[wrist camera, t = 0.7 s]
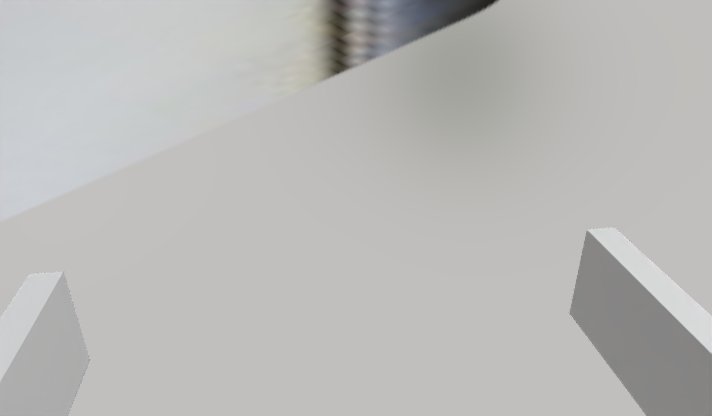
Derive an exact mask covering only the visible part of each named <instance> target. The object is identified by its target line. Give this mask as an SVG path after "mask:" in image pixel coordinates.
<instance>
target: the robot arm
mask: <svg viewBox="0 0 712 416" xmlns="http://www.w3.org/2000/svg"><path fill="white" fill-rule="evenodd" d="M570 315H571V316H572V317H573V319H574V320H575V321H576V323H577V324H578V325H579V327H580V328H581V329H582V331H583V332H584V333H585V335H586V336H587V337H588V338H589V340H590V341H591V342H592V344H593V345H594V346H595V348H596V349H597V350H598V352H599V353H600V354H601V356H602V357H603V358H604V360H605V361H606V362H607V364H608V365H609V366H610V368H611V369H612V370H613V372H614V373H615V374H616V376H617V377H618V378H619V379H620V381H621V382H622V384H623V385H624V386H625V388H626V389H627V390H628V392H629V393H630V394H631V396H632V397H633V398H634V400H635V401H636V402H637V404H638V405H639V406H640V408H641V409H642V410H643V412H644V413H645V414H646V416H712V316H711V315H710V314H709V313H708V312H707V311H705V310H704V309H703V308H702V307H701V306H700V305H699V304H698V303H697V302H695V301H694V300H693V299H692V298H691V297H690V296H689V295H688V294H687V293H686V292H685V291H683V290H682V289H681V288H680V287H679V286H678V285H677V284H676V283H675V282H673V281H672V280H671V279H670V278H669V277H668V276H667V275H666V274H665V273H664V272H662V271H661V270H660V269H659V268H658V267H657V266H656V265H655V264H654V263H652V261H650V260H649V259H648V258H647V257H646V256H645V255H644V254H643V253H642V252H640V251H639V250H638V249H637V248H636V247H635V246H634V245H633V244H632V243H631V242H630V241H628V240H627V239H626V238H625V237H624V236H623V235H622V234H621V233H620V232H619V231H617V230H616V229H615V228H602V229H589V230H587V232H586V237H585V241H584V246H583V251H582V256H581V261H580V266H579V270H578V275H577V280H576V285H575V290H574V295H573V299H572V304H571V309H570ZM89 361H90V359H89V355H88V352H87V349H86V345H85V342H84V339H83V336H82V332H81V329H80V325H79V322H78V318H77V315H76V312H75V308H74V305H73V302H72V298H71V295H70V292H69V288H68V285H67V281H66V278H65V275H64V272H63V271H62V272H50V273H37V274H29V275H28V277H27V278H26V280H25V281H24V283H23V284H22V286H21V287H20V289H19V290H18V292H17V294H16V295H15V296H14V298H13V299H12V301H11V302H10V304H9V306H8V307H7V309H6V310H5V312H4V313H3V315H2V316H1V318H0V416H68V414H69V411H70V408H71V406H72V404H73V401H74V399H75V396H76V394H77V391H78V389H79V386H80V384H81V381H82V378H83V376H84V374H85V371H86V369H87V366H88V364H89Z"/></svg>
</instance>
